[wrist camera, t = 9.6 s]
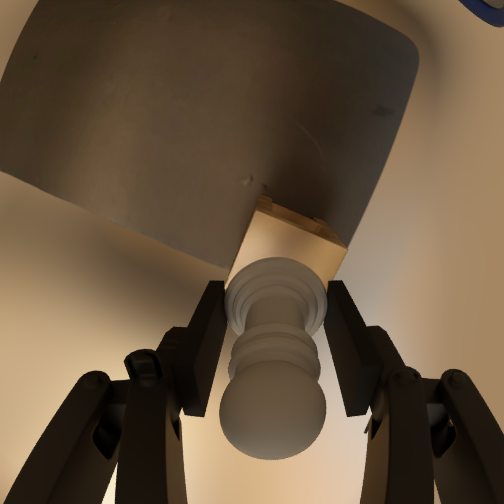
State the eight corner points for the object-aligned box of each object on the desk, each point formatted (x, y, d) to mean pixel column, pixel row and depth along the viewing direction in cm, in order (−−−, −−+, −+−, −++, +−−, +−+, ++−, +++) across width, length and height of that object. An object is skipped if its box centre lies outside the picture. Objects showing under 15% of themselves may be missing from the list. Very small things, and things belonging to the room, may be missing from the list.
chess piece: (213, 323, 15) (166, 462, 7) (246, 237, 14) (205, 364, 5) (299, 352, 15) (311, 491, 7) (343, 275, 14) (412, 410, 5)
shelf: (324, 221, 35) (348, 249, 24) (299, 273, 38) (309, 320, 26) (260, 193, 35) (255, 209, 23) (237, 249, 37) (223, 288, 26)
